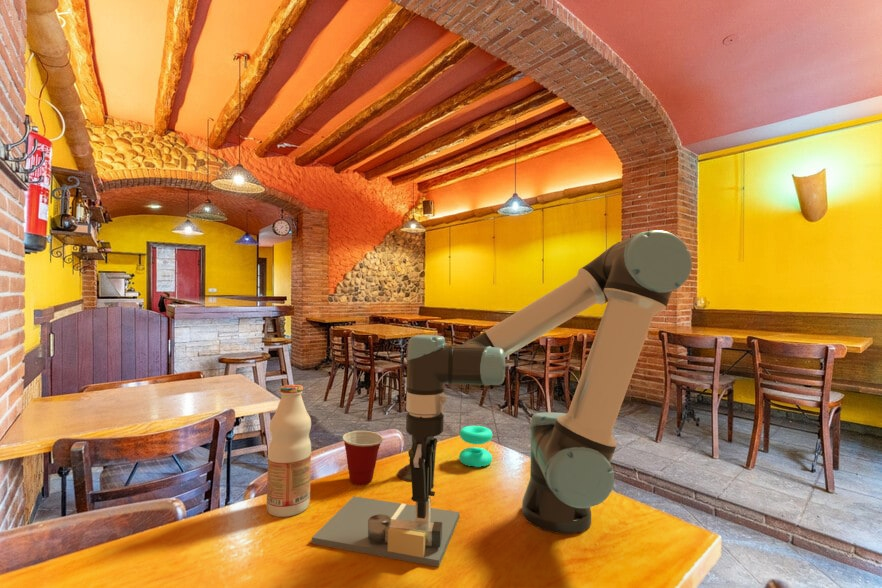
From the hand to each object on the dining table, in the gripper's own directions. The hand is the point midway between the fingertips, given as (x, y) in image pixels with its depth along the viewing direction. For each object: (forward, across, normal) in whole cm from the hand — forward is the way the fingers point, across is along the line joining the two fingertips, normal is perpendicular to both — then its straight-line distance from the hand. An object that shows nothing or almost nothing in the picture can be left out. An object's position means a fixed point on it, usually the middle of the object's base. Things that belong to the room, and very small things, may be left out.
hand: (422, 530), depth 82 cm
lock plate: (+2, +3, +8) cm, 9 cm away
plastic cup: (+3, +24, +23) cm, 33 cm away
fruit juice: (+3, +6, +34) cm, 34 cm away
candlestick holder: (+3, +31, +11) cm, 33 cm away
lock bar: (+1, -3, +3) cm, 4 cm away
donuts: (+3, +44, -5) cm, 45 cm away
